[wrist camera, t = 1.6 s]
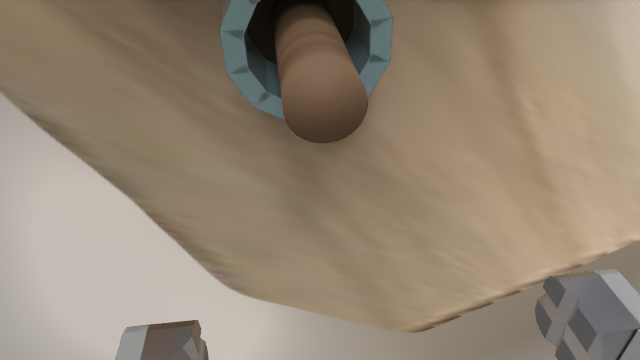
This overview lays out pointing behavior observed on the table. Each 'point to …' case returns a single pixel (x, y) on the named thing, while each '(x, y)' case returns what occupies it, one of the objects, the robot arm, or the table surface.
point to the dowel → (316, 73)
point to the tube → (262, 75)
